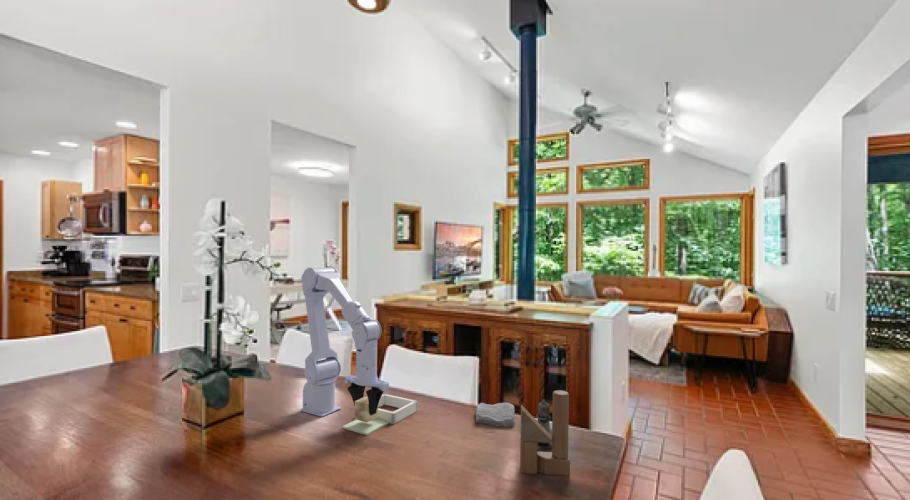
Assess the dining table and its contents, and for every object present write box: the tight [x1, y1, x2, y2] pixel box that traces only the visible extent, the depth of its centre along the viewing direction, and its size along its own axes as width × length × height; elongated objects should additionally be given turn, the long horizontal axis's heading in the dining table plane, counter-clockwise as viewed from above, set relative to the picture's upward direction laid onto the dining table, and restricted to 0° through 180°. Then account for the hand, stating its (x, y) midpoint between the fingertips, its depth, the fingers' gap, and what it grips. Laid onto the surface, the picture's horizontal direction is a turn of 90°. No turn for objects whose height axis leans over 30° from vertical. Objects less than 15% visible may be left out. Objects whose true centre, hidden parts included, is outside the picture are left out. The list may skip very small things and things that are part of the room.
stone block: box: [475, 402, 517, 427], centre depth 125 cm, size 12×5×10 cm
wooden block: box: [519, 389, 571, 477], centre depth 96 cm, size 4×11×18 cm, turn 85°
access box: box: [375, 393, 418, 425], centre depth 129 cm, size 13×12×3 cm
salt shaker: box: [536, 398, 552, 451], centre depth 108 cm, size 6×6×12 cm
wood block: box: [354, 396, 379, 422], centre depth 119 cm, size 4×4×5 cm
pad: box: [341, 419, 389, 436], centre depth 119 cm, size 9×9×1 cm
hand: (365, 412), depth 119 cm, fingers closed on wood block, 4 cm apart
